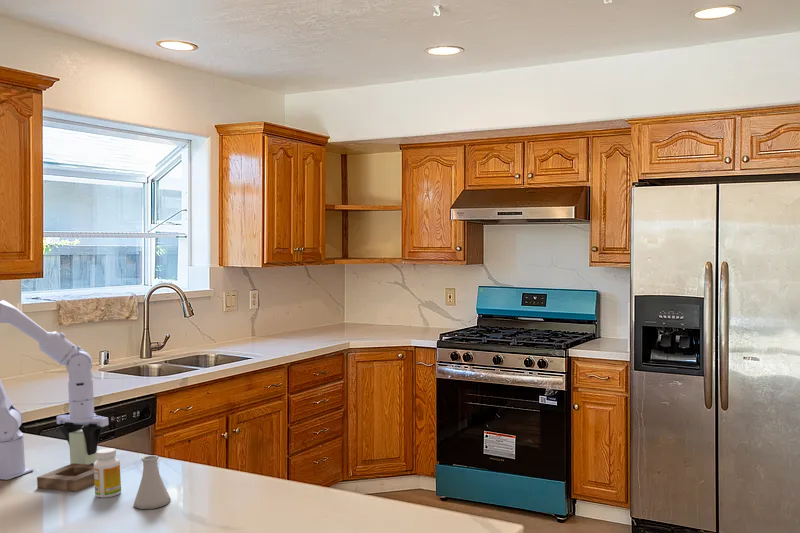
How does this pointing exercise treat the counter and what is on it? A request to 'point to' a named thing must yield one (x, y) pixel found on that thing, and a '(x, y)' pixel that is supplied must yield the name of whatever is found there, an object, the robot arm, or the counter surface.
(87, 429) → the robot arm
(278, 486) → the counter surface
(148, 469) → the flask
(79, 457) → the peg
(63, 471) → the socket
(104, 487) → the supplement bottle
